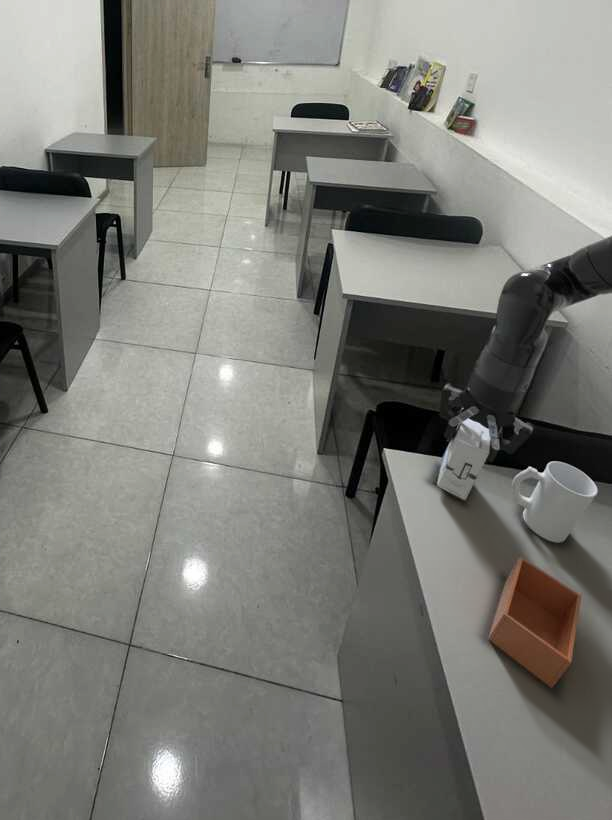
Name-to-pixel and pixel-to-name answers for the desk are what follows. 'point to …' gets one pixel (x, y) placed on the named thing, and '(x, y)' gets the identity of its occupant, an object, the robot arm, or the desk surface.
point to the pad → (441, 488)
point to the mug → (555, 499)
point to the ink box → (464, 458)
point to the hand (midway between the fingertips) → (467, 449)
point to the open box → (537, 621)
